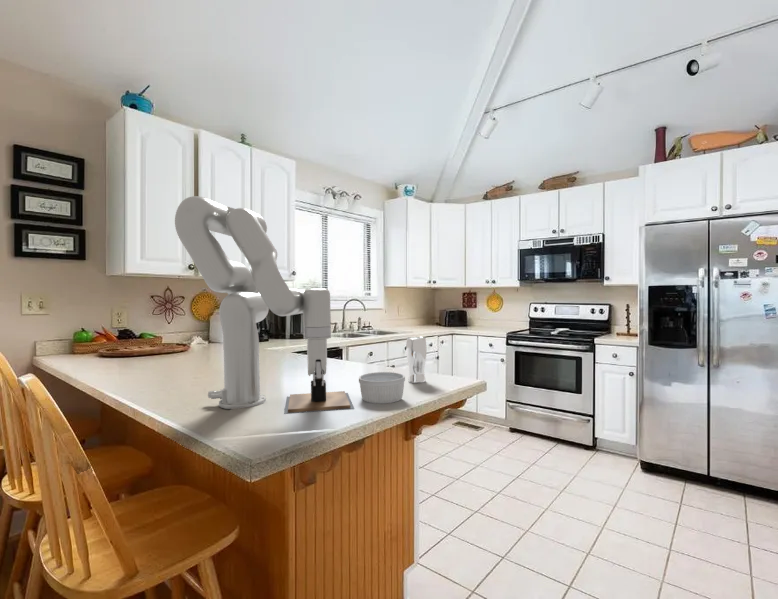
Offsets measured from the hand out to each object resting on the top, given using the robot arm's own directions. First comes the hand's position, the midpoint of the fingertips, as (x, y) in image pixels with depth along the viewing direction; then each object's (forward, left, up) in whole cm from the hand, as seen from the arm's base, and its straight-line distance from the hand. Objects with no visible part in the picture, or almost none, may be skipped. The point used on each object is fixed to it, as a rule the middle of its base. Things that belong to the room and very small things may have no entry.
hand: (318, 397), depth 117 cm
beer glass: (+34, +21, -2) cm, 40 cm away
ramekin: (+18, 0, -2) cm, 18 cm away
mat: (0, 0, -2) cm, 2 cm away
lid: (0, 0, -1) cm, 1 cm away
